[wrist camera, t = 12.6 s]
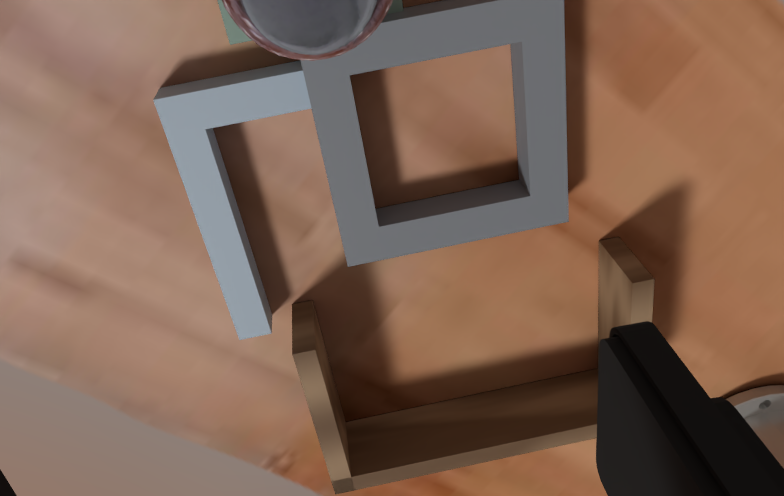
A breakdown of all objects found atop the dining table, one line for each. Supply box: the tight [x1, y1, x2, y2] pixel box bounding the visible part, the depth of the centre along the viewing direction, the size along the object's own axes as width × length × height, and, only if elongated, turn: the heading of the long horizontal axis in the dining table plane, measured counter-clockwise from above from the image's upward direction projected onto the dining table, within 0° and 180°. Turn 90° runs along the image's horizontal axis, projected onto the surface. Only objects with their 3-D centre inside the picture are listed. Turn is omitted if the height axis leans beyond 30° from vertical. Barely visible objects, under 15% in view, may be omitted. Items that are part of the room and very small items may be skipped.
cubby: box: [292, 237, 655, 494], centre depth 40 cm, size 11×19×4 cm, turn 99°
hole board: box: [301, 0, 569, 267], centre depth 33 cm, size 12×12×2 cm
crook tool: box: [154, 60, 311, 340], centre depth 35 cm, size 14×7×2 cm, turn 9°
